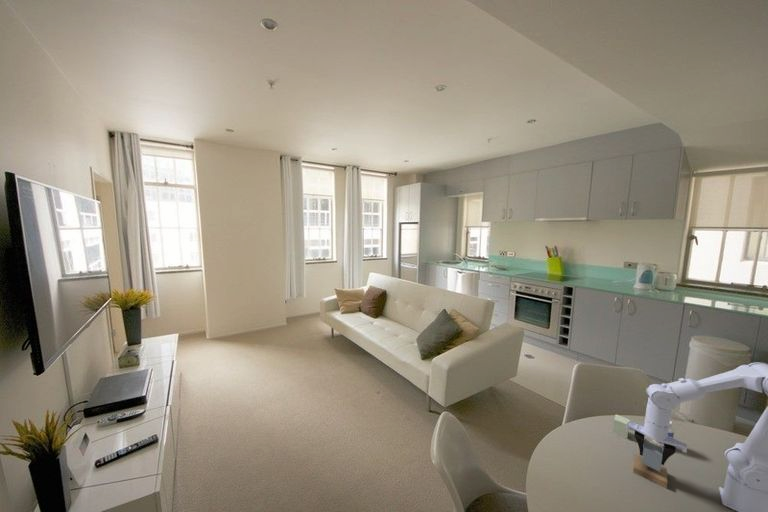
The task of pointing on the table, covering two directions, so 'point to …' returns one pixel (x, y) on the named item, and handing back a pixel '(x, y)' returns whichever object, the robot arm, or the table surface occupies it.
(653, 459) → the slate block
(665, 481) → the walnut block
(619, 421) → the sage block
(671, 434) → the pill bottle
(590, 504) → the table surface
